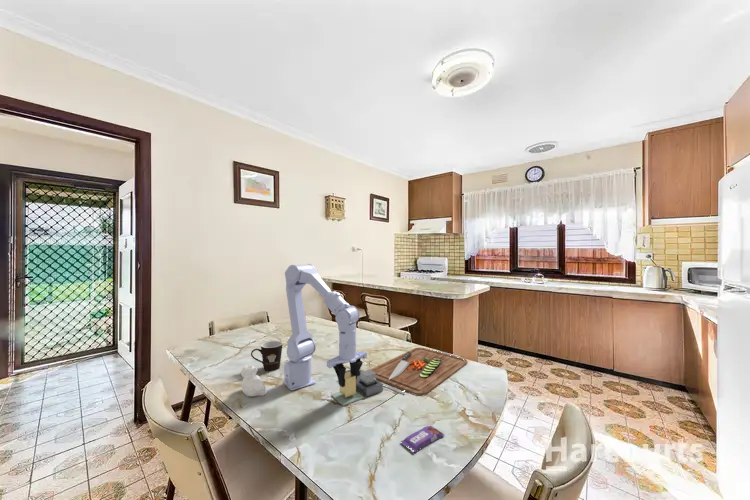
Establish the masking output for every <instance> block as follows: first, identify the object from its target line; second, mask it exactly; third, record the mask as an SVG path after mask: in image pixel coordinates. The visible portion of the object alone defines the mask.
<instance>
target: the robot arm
mask: <svg viewBox="0 0 750 500" xmlns="http://www.w3.org/2000/svg"><path fill="white" fill-rule="evenodd" d="M284 277H285V291H286V297H287V305H288V312H289V319H290V328H291V335H290V337H289V338H288V339H287V341H286V343H287V348H286V355H287V357H288V359H289V360H288V361H285V363H284V367H283V368H284V369H283V373H284V375H283V384H284V386H286V387H287V388H288V389H289V390H290V391H294V390H298V389H302V388H305V387H308V386H311V385H314V384H316V381H315V380H314V379H313V378H312V358H313V356H314V353H315V352H316V348H317V344H316V342H315V340H314V338H313V337H314V336H313V334H312V333H311V332H309V330H308V328H307V321H306V314H305V306H304V299H303V294H302V293H303V292H302V290H303V288H304V287H305V285H306V284H309V285H311V287H312V288H313V289H314V290H316V292H318V293H319V295H321V296H322V297H323V302H324V303H323V304H324V305H325V306H326V307H327V308H328V309H329V310H330V311H331V313H333V315H334V316H335V322H336V323H337V327H338V328H337V329H338V336H339V337H338V344H339V345H338V355H337V356H335V357H333V358H330V359H328V360H326V367H327V368H328V369H332V368H333V369H334V371H335V374H336V376H337V380H338V381H337V382H338V385H339V387H340V386H341V387H344V377H345V371H347V367H345V365H344V364H347V363H349V368H350V369H351V373H352V374H354V375H355V376H356V379H357V376H358V372H359V370H361V368H362V366H363V361H362V360H361V359H364V360H365V359H368V356H367V355H368V352H367V351H364V350H362V351H357V322H358V321H359V320H360V311H359V310H358V308H357V306H354V305H350V303H349V302H348V301H346V300H345V299H344V298H343V297H342V296H341V293H340V292H337V291H335V290H333V291H332V290H331V288H330V287H329V286H328V285H327V283H326V282H325V281H324V280H323V279H322V278H321V275H319V273H318V269H317V268H315V266H314V265H313V264H312V263H306V264H291V265H289V266H288V267H287V269H286V270H285V272H284ZM350 369H349V370H350Z"/></svg>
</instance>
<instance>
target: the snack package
mask: <svg viewBox="0 0 750 500" xmlns="http://www.w3.org/2000/svg"><path fill="white" fill-rule="evenodd" d="M444 436H445V434H444V433H443V432H441V431H439V429H437V428H435V427H434V426H432V425H427V426H425V427H423V428H421V429H419V430H417V431H415V432H414V433H411V434H409V435H408V436H406V437H405V438H404V439H403V440H401V441H400V442H402V444H403V446H404V447H405V446H407V447H408V446H409V448H412V450H414V452H415V453H416V451H417V450H418V449H420V448H422V447H423V448H425V447H427V446H428V444H429V445H430V444H432V443H434V442H435V441H437V440H439V439H440V437H441V438H442V437H444ZM402 444H401V445H402ZM426 445H427V446H426ZM424 446H425V447H424ZM423 448H422V449H423ZM420 450H421V449H420ZM418 451H419V450H418ZM418 451H417V452H418Z"/></svg>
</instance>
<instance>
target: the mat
mask: <svg viewBox="0 0 750 500" xmlns="http://www.w3.org/2000/svg"><path fill="white" fill-rule="evenodd" d="M330 396H331V397H333V398H334V400H335V401H337V402H338V403H339V404H340V405H341V406H343V407H346V406H348V405H350V404H353V403H355V402H358V401H360V400H363V399H365V396H364V395H363V394H361V393H360V392H359V391H357V390H356V394H354V395H351V396H348V397H346V398H345V397H344V396H343V395H342V394H341V393H340V391H338V392H335V393H331V395H330Z"/></svg>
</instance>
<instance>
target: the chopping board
mask: <svg viewBox="0 0 750 500" xmlns="http://www.w3.org/2000/svg"><path fill="white" fill-rule="evenodd" d="M430 349H432V350H430ZM433 350H436V351H433ZM437 351H438V352H437ZM441 352H442V353H441ZM450 355H451V356H450ZM457 357H459V358H457ZM463 359H464V360H463ZM467 364H468V360H467V359H466V358H465V357H464V358H463V357H461V356H460V355H456V354H452V353H450V352H449V353H448V352H446V351H442V350H437V349H434V348H425V347H415V348H413V349H411V350H408V351H406V352H404V353H402V354H400V355H398V356H395V357H393V358H392V359H390V360H388V361H385V362H382V363H381V364H379V365H377V366H374V367H372V368H370V370H371V371H373V372H375V373H376V380H377V381H379V382H381V383H382V382H383V383H382V384H383V388H386V389H389V390H391V391H394V392H396V393H398V394H401V395H403V396H405V395H406V392H407V393H408V394H412V395H415V396H426V395H428V394H429V393H431V391H433V390H435V389H436V388H438V386H439V385H441V384H442V383H444V382H445V381H446V380H448V379H449V378H450V377H452V376H453V375H454V374H456V373H457V372H459V371H460V370H461V369H462V368H464V367H465V366H467ZM384 383H385V384H384ZM386 384H387V385H386ZM389 385H390V386H389ZM391 386H392V387H391ZM394 387H395V388H394ZM398 389H399V390H398Z"/></svg>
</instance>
